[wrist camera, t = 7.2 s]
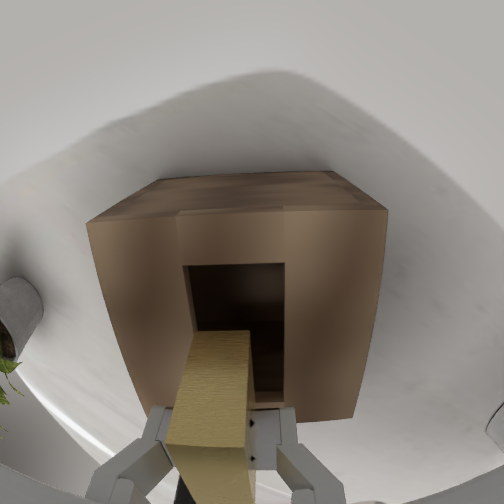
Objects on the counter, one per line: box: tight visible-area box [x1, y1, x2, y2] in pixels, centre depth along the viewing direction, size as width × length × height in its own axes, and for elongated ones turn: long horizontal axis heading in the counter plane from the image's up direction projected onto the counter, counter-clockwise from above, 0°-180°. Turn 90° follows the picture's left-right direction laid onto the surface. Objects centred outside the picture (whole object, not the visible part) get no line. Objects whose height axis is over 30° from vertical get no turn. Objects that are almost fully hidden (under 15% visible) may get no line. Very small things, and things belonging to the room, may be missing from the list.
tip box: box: [86, 171, 388, 423], centre depth 18 cm, size 12×12×10 cm
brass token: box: [164, 330, 256, 504], centre depth 10 cm, size 2×5×5 cm, turn 3°
